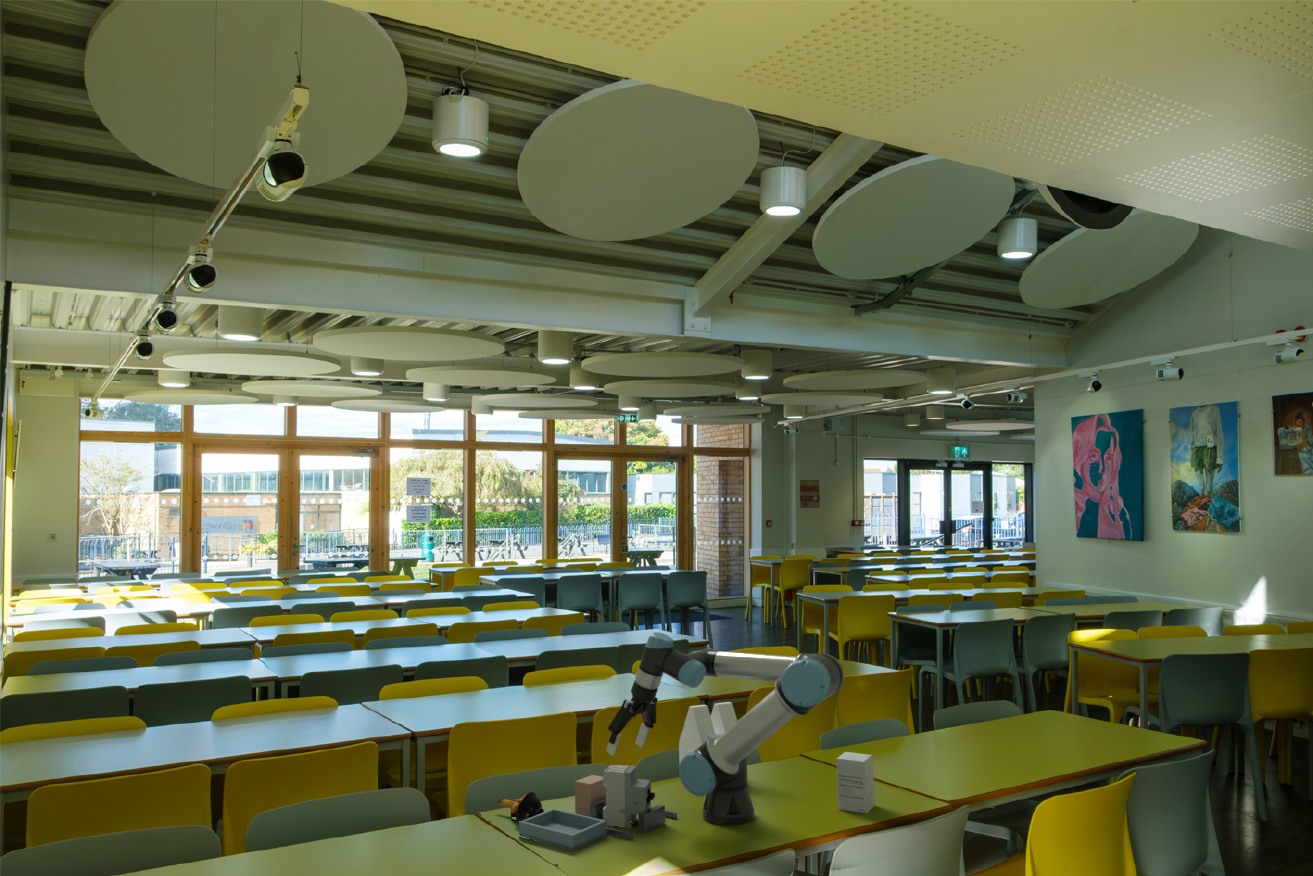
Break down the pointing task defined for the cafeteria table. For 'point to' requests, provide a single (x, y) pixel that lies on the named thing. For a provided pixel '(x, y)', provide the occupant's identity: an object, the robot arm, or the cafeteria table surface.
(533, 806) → the fried shrimp in bowl
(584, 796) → the beige rectangular block
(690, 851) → the cafeteria table surface
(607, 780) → the circuit breaker
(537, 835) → the tray
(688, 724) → the milk carton
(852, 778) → the supplement box
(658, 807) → the grey blocks
